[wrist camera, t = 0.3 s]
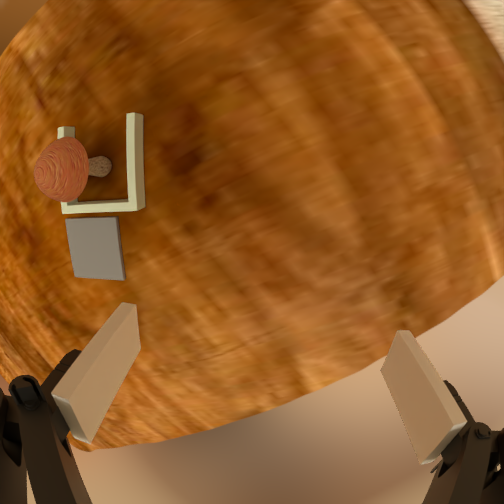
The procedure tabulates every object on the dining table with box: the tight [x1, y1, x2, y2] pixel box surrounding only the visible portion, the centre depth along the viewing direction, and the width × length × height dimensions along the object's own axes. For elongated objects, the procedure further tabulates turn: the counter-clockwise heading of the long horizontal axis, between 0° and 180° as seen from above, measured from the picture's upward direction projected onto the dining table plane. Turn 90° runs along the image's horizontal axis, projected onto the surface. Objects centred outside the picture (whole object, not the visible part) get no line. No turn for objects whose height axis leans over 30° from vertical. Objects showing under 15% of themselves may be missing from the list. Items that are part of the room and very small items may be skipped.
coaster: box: [65, 216, 126, 280], centre depth 41 cm, size 10×10×1 cm
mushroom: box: [34, 136, 112, 202], centre depth 30 cm, size 8×8×15 cm
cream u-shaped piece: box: [58, 113, 145, 214], centre depth 36 cm, size 13×13×3 cm
